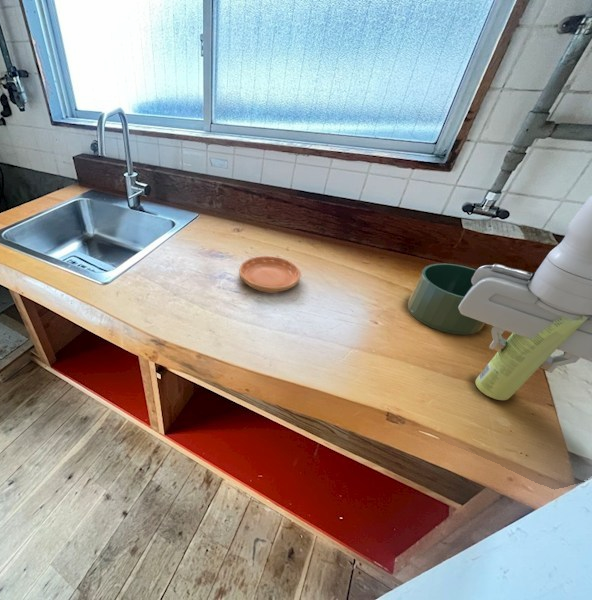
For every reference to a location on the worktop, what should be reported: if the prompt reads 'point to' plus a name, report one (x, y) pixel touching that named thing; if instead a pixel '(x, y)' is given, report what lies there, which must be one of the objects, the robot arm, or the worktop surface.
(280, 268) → the saucer
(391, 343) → the worktop surface
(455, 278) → the vessel
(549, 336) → the tube
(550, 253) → the robot arm
